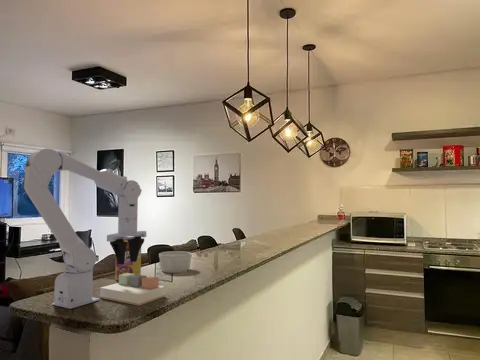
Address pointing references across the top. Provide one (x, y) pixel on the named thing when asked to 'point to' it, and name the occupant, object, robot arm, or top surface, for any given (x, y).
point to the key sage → (125, 279)
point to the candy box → (128, 264)
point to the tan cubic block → (150, 282)
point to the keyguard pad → (131, 294)
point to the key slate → (136, 280)
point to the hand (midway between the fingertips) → (127, 262)
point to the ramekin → (175, 261)
